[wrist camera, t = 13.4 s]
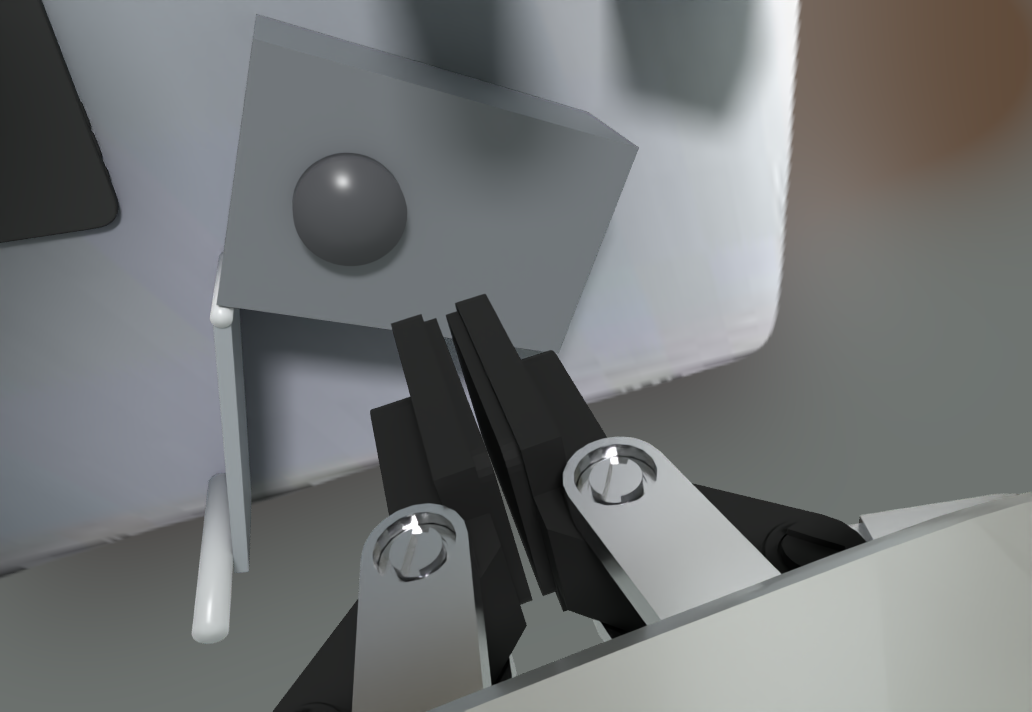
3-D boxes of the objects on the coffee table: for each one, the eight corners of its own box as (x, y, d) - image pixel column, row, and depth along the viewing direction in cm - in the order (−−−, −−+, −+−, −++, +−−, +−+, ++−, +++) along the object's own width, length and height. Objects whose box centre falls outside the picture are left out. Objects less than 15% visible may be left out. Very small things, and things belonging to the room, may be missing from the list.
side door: (184, 250, 39) (154, 367, 29) (237, 251, 39) (226, 365, 30) (210, 498, 48) (193, 651, 38) (253, 495, 48) (248, 643, 39)
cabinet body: (224, 245, 39) (215, 315, 33) (256, 14, 34) (252, 43, 27) (523, 297, 46) (564, 363, 40) (588, 112, 41) (647, 153, 34)
